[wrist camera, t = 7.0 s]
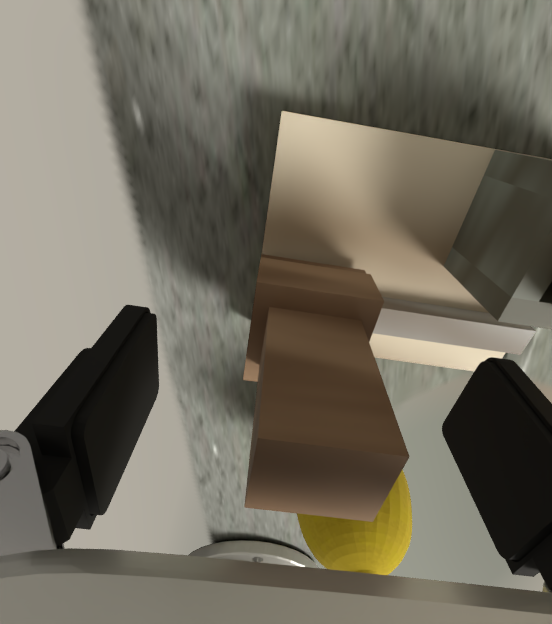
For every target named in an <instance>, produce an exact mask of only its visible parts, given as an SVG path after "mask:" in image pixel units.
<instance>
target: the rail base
mask: <svg viewBox="0 0 552 624" xmlns="http://www.w3.org/2000/svg"><path fill="white" fill-rule="evenodd" d="M262 254H264V255H271V256H277V257H284V258H290V259H296V260H303V261H309V262H316V263H322V264H329V265H335V266H341V267H348V268H354V269H361V270H365V272H366V274H371V276H372V278H373V280H374V282H375V284H376V286H377V288H378V290H379V292H380V294H381V296H382V298H383V300H384V304H383V306H382V309H381V312H380V314H379V317H378V320H377V323H376V325H375V328H374V331H373V334H372V336H371V339H370V342H369V343H370V346H371V349H372V352H373V355H374V357H376V358H384V359H391V360H398V361H405V362H412V363H419V364H426V365H433V366H440V367H447V368H454V369H461V370H468V371H475V370H476V368H477V367H478V365H479V364H480V363H481V362H482V361H485V360H486V359H488V358H490V357H494V358H501V359H502V357H503V356H504V354H505V353H512V354H519V355H521V353H522V352H523V350H524V349H525V347H526V346H527V344H528V343H529V341H530V340H531V338H532V337H533V335H534V334H535V332H536V331H535V330H534V329H533V328H532V327H539V328H545V329H552V159H548V158H542V157H537V156H531V155H526V154H520V153H514V152H509V151H503V150H498V149H492V148H487V147H481V146H476V145H470V144H465V143H459V142H454V141H448V140H442V139H437V138H431V137H426V136H420V135H415V134H409V133H404V132H398V131H393V130H387V129H382V128H376V127H370V126H365V125H359V124H354V123H348V122H343V121H337V120H332V119H326V118H321V117H315V116H310V115H304V114H298V113H293V112H287V111H282V113H281V120H280V127H279V134H278V142H277V149H276V156H275V163H274V170H273V177H272V184H271V191H270V198H269V205H268V212H267V219H266V226H265V234H264V241H263V248H262ZM531 326H532V327H531Z"/></svg>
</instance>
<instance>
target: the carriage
mask: <svg viewBox="0 0 552 624" xmlns="http://www.w3.org/2000/svg"><path fill="white" fill-rule="evenodd" d="M383 304H384V300H383V298H382V296H381V294H380V292H379V290H378V288H377V286H376V284H375V282H374V280H373V278H372V276H371V274H366V272H365V270H361V269H354V268H348V267H341V266H335V265H329V264H322V263H316V262H309V261H303V260H296V259H290V258H284V257H277V256H271V255H264V254H261V259H260V265H259V271H258V277H257V283H256V290H255V297H254V304H253V311H252V319H251V326H250V333H249V340H248V347H247V354H246V362H245V369H244V376H243V380H248V381H255V382H258V383H257V392H256V402H255V412H254V421H253V431H252V440H251V450H250V459H249V469H248V478H247V488H246V497H245V507H246V508H254V509H263V510H272V511H281V512H290V513H299V514H308V515H316V516H325V517H334V518H343V519H352V520H361V521H369V522H373V521H374V519H375V517H376V515H377V514H378V512H379V510H380V508H381V507H382V505H383V503H384V501H385V499H386V498H387V496H388V494H389V492H390V491H391V489H392V487H393V485H394V483H395V482H396V480H397V478H398V476H399V475H400V473H401V471H402V469H403V467H404V466H405V464H406V462H407V460H408V458H409V454H408V452H407V449H406V446H405V443H404V440H403V437H402V435H401V432H400V429H399V426H398V423H397V420H396V417H395V414H394V412H393V409H392V406H391V403H390V400H389V397H388V395H387V392H386V389H385V386H384V383H383V380H382V378H381V375H380V372H379V369H378V366H377V363H376V360H375V358H374V355H373V352H372V349H371V346H370V343H369V342H370V339H371V336H372V334H373V331H374V328H375V325H376V323H377V320H378V317H379V314H380V312H381V309H382V306H383Z"/></svg>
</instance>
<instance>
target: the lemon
mask: <svg viewBox="0 0 552 624" xmlns="http://www.w3.org/2000/svg"><path fill="white" fill-rule="evenodd" d="M297 516H298V520H299V524H300V528H301V531H302V534H303V537H304V539H305V541H306V543H307V545H308V547H309V548H310V550H311V552H312V553H313V555H314V557H315V558H316V559H317V560H318V561H319V562H320V563H321V564H322V565H323V566H324V567H325V568H327V569H331V570H340V571H350V572H360V573H369V574H379V575H388V574H390V573H391V572H392V571H393V570H394V569H395V568H396V567H397V566H398V565H399V563H400V562H401V561H402V559H403V557H404V555H405V553H406V551H407V549H408V547H409V544H410V540H411V534H412V510H411V499H410V493H409V488H408V484H407V481H406V478H405V475H404V472H403V470H402V471H401V473H400V475H399V476H398V478H397V480H396V482H395V483H394V485H393V487H392V489H391V491H390V492H389V494H388V496H387V498H386V499H385V501H384V503H383V505H382V507H381V508H380V510H379V512H378V514H377V515H376V517H375V519H374V521H373V522H369V521H361V520H352V519H343V518H334V517H325V516H316V515H308V514H299V513H297Z"/></svg>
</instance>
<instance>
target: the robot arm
mask: <svg viewBox="0 0 552 624" xmlns="http://www.w3.org/2000/svg"><path fill="white" fill-rule="evenodd" d="M158 389H159V374H158V345H157V318H156V315H155V314H151V313H150V310H149V308H147V307H140V306H133V305H126V306H125V307H124V308H123V309H122V310H121V312H120V313H119V314H118V315H117V316H116V318H115V319H114V320H113V322H112V323H111V324H110V325H109V327H108V328H107V329H106V331H105V332H104V333H103V334H102V335H101V337H100V338H99V339H98V340H97V342H96V343H95V344H94V345H93V347H92V348H86V349H83V350H82V351H81V352H80V353H79V354H78V356H76V358H75V359H74V360H73V361H72V363H71V364H70V365H69V366H68V368H67V369H66V370H65V371H64V372H63V374H62V375H61V376H60V377H59V378H58V379H57V381H56V382H55V383H54V384H53V385H52V387H51V388H50V389H49V390H48V392H47V393H46V394H45V395H44V396H43V398H42V399H41V400H40V401H39V403H38V404H37V405H36V406H35V407H34V408H33V410H32V411H31V412H30V413H29V414H28V416H27V417H26V418H25V419H24V420H23V422H22V423H21V424H20V425H19V427H18V428H17V429H16V430H15V431H14V432H13V431H8V430H0V624H552V404H551V402H550V401H549V400H548V399H547V398H546V397H545V396H544V395H543V393H542V392H541V391H540V390H539V389H538V388H537V387H536V385H535V384H534V383H533V382H532V381H531V380H530V379H529V377H528V376H527V375H526V374H525V373H524V372H523V371H522V369H521V368H520V367H519V366H518V365H517V364H516V363H515V362H514V361H512V360H508V359H501V358H494V357H490V358H488V359H486V360H485V361H482V362H481V363H480V364H479V365H478V367H477V368H476V370H475V372H474V373H473V375H472V377H471V378H470V380H469V381H468V383H467V385H466V386H465V388H464V390H463V391H462V393H461V395H460V396H459V398H458V400H457V401H456V403H455V405H454V406H453V408H452V409H451V411H450V413H449V415H448V416H447V418H446V419H445V421H444V423H443V426H442V432H443V436H444V438H445V440H446V442H447V444H448V447H449V449H450V451H451V453H452V455H453V457H454V459H455V461H456V463H457V465H458V468H459V470H460V472H461V474H462V476H463V478H464V481H465V483H466V485H467V487H468V489H469V491H470V493H471V496H472V498H473V500H474V502H475V504H476V506H477V508H478V510H479V513H480V515H481V517H482V519H483V521H484V523H485V525H486V527H487V530H488V532H489V534H490V536H491V538H492V540H493V542H494V544H495V547H496V549H497V551H498V552H499V554H500V555H501V556H502V557H503V558H504V559H506V562H507V563H508V566H509V568H510V570H511V572H512V574H515V575H524V576H533V577H534V576H535V575H536V574H538V573H539V572H540V573H541V575H542V577H543V579H544V584H543V592H538V591H529V590H520V589H511V588H502V587H493V586H484V585H474V584H465V583H456V582H455V583H454V582H446V581H437V580H427V579H416V578H408V577H398V576H389V575H379V574H369V573H360V572H350V571H340V570H331V569H320V568H319V567H318V566H317V565H316V564H315V562H314V561H312V560H311V559H310V558H308V557H307V556H306V555H304V554H302V553H300V552H298V551H296V550H294V549H291V548H288V547H286V546H282V545H278V544H274V543H269V542H261V541H248V540H237V541H225V542H219V543H214V544H210V545H207V546H204V547H201V548H199V549H197V550H195V551H193V552H192V553H190V554H189V555H188V556H187V555H173V554H161V553H148V552H136V551H123V550H106V549H105V550H104V549H64V545H63V543H64V542H66V541H68V540H69V539H70V537H71V535H72V533H73V531H74V529H75V528H81V529H91V526H92V524H93V522H94V520H95V518H96V516H97V515H103V514H104V513H105V512H106V510H107V508H108V506H109V504H110V502H111V499H112V497H113V495H114V493H115V491H116V488H117V486H118V484H119V481H120V479H121V477H122V474H123V472H124V470H125V468H126V466H127V463H128V461H129V459H130V457H131V454H132V452H133V450H134V447H135V445H136V443H137V441H138V438H139V436H140V434H141V432H142V429H143V427H144V425H145V423H146V420H147V418H148V416H149V413H150V411H151V409H152V407H153V404H154V402H155V400H156V397H157V394H158Z"/></svg>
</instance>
